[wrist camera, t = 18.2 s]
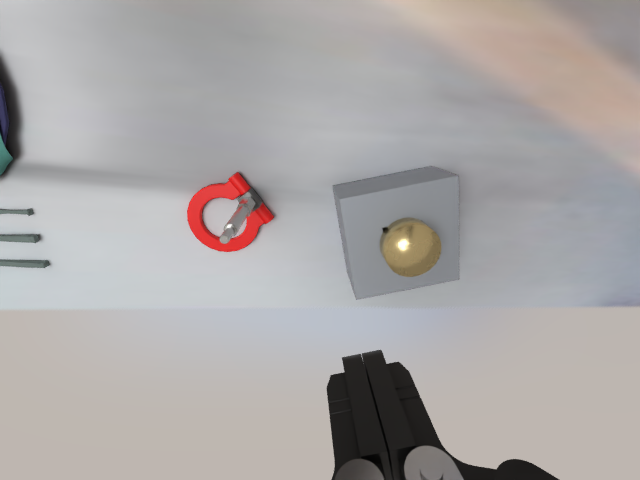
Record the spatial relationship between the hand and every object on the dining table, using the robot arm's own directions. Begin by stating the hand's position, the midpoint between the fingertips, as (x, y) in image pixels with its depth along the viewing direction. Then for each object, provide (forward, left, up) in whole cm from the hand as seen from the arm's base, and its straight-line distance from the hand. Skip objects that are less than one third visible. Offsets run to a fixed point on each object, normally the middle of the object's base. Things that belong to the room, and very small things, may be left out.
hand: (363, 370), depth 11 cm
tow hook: (0, -11, -27) cm, 29 cm away
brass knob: (+5, +8, -26) cm, 28 cm away
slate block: (+5, +8, -27) cm, 29 cm away
